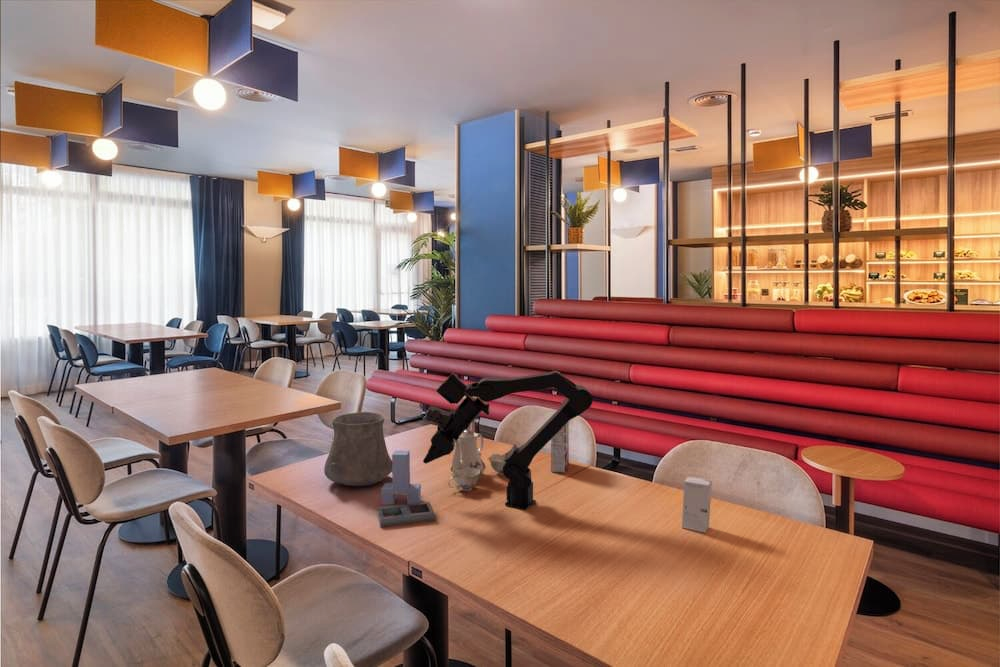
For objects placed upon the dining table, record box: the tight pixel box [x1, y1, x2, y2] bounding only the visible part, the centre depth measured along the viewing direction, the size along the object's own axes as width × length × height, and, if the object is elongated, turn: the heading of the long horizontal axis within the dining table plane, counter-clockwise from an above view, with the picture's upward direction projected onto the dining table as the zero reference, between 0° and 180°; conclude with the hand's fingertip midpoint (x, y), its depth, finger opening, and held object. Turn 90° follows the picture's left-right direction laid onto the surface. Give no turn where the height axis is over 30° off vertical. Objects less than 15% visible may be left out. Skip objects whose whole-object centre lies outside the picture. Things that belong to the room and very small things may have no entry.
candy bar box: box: [550, 420, 570, 474], centre depth 193 cm, size 11×5×16 cm, turn 168°
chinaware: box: [447, 427, 505, 492], centre depth 183 cm, size 28×17×17 cm, turn 148°
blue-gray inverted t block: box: [381, 449, 422, 505], centre depth 164 cm, size 10×4×14 cm, turn 87°
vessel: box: [323, 411, 392, 487], centre depth 180 cm, size 22×22×20 cm
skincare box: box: [681, 475, 713, 533], centre depth 147 cm, size 6×4×12 cm
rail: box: [376, 501, 436, 528], centre depth 154 cm, size 14×8×2 cm, turn 107°
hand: (426, 457), depth 163 cm, fingers open, 9 cm apart
